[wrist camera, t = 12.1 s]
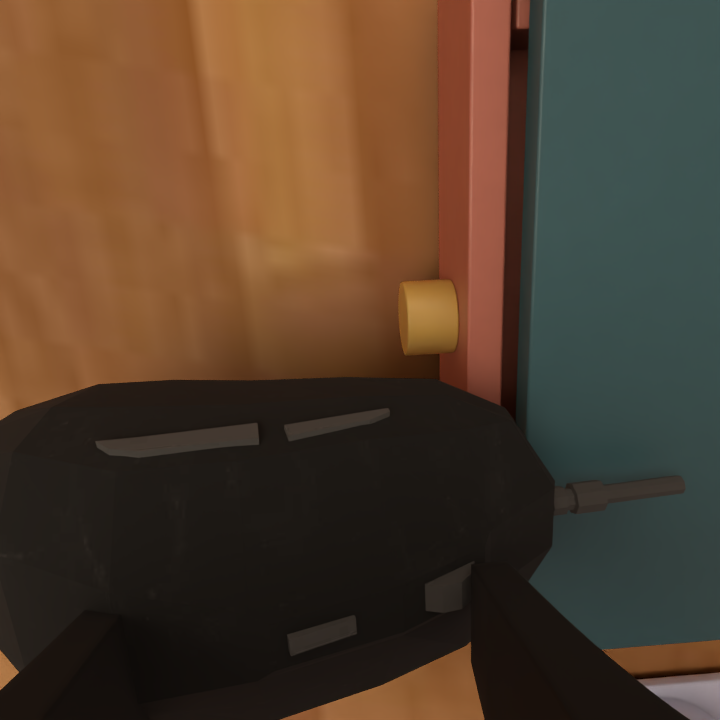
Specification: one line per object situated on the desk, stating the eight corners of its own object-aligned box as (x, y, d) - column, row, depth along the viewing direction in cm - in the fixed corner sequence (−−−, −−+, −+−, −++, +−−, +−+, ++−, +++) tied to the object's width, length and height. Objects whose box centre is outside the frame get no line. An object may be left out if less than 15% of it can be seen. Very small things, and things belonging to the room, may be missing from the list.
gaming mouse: (662, 602, 14) (784, 765, 10) (8, 653, 14) (-116, 838, 10) (690, 337, 12) (853, 414, 8) (-66, 388, 12) (-256, 493, 8)
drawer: (777, 527, 19) (869, 598, 16) (401, 555, 19) (418, 635, 16) (882, -47, 15) (1040, -107, 12) (385, -31, 14) (404, -91, 11)
